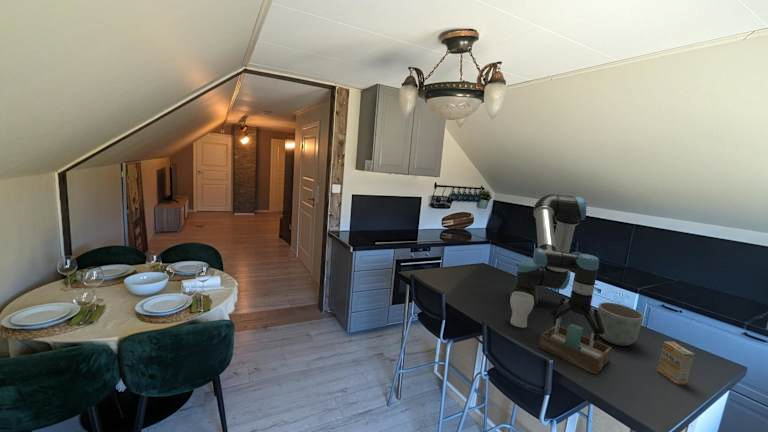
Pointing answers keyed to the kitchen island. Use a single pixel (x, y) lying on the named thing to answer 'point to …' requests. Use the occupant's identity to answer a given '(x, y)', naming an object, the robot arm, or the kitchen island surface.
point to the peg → (573, 336)
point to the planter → (620, 323)
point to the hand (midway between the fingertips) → (573, 339)
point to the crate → (583, 357)
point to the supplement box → (675, 362)
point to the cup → (521, 308)
